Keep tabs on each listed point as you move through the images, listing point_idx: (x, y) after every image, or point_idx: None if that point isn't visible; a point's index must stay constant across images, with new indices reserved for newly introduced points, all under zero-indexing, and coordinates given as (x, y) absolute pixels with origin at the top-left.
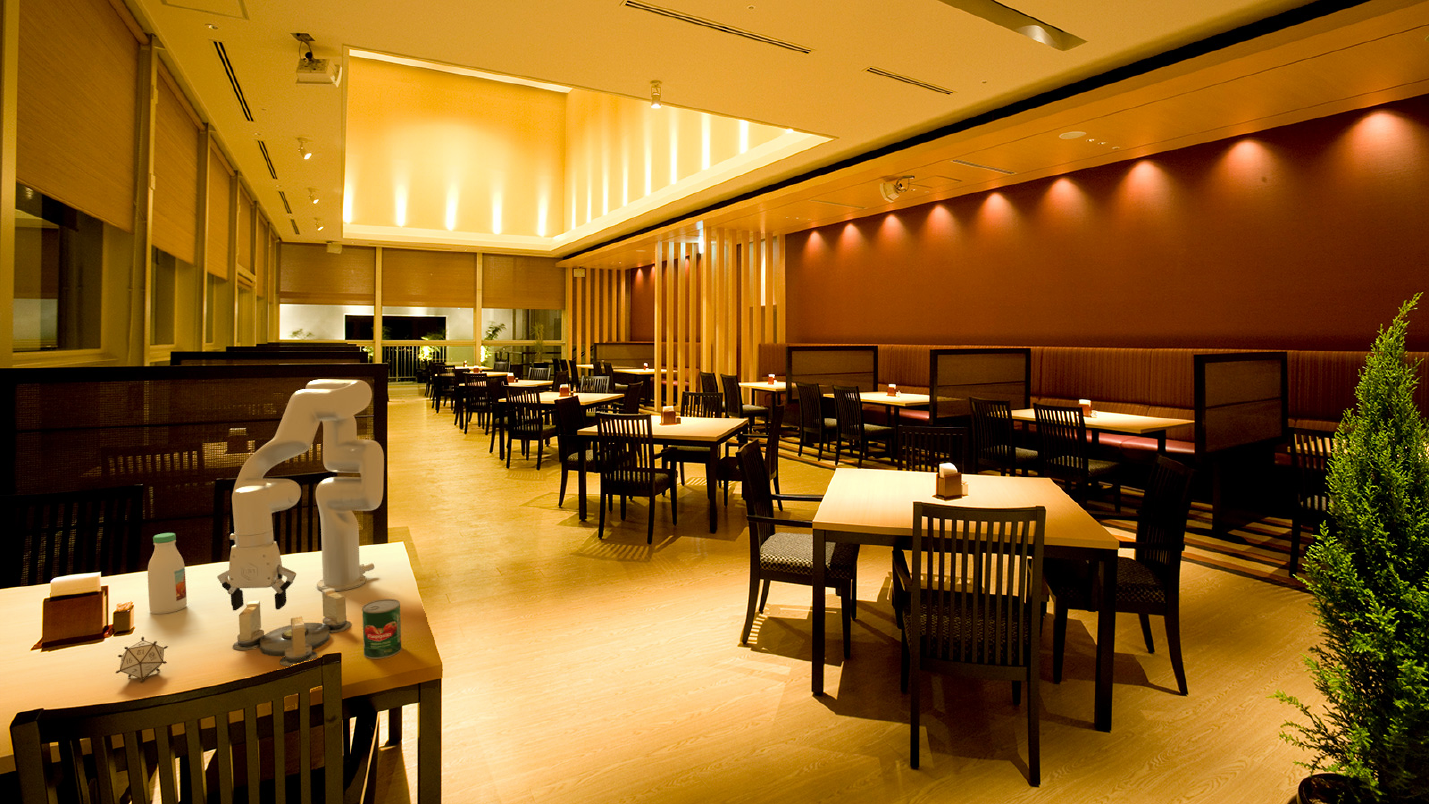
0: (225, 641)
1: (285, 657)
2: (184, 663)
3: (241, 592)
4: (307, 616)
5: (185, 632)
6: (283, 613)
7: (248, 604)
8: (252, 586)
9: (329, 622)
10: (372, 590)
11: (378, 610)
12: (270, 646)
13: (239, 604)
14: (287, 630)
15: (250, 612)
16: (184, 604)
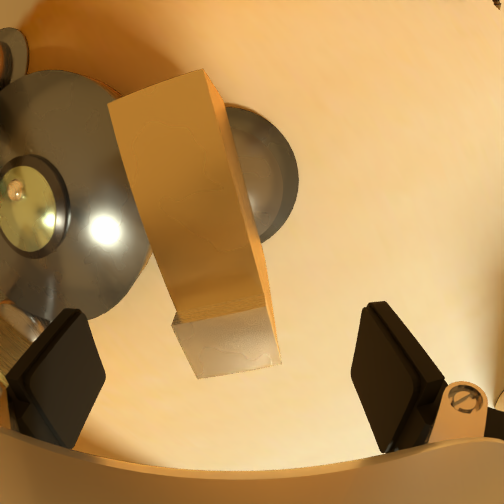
0: (355, 212)
1: (1, 43)
2: (385, 14)
3: (382, 438)
4: (174, 407)
5: (492, 290)
6: (268, 425)
7: (247, 308)
8: (137, 486)
9: (2, 307)
10: None
11: None
12: (55, 75)
13: (364, 355)
14: (51, 215)
15: (126, 144)
16: (501, 404)
